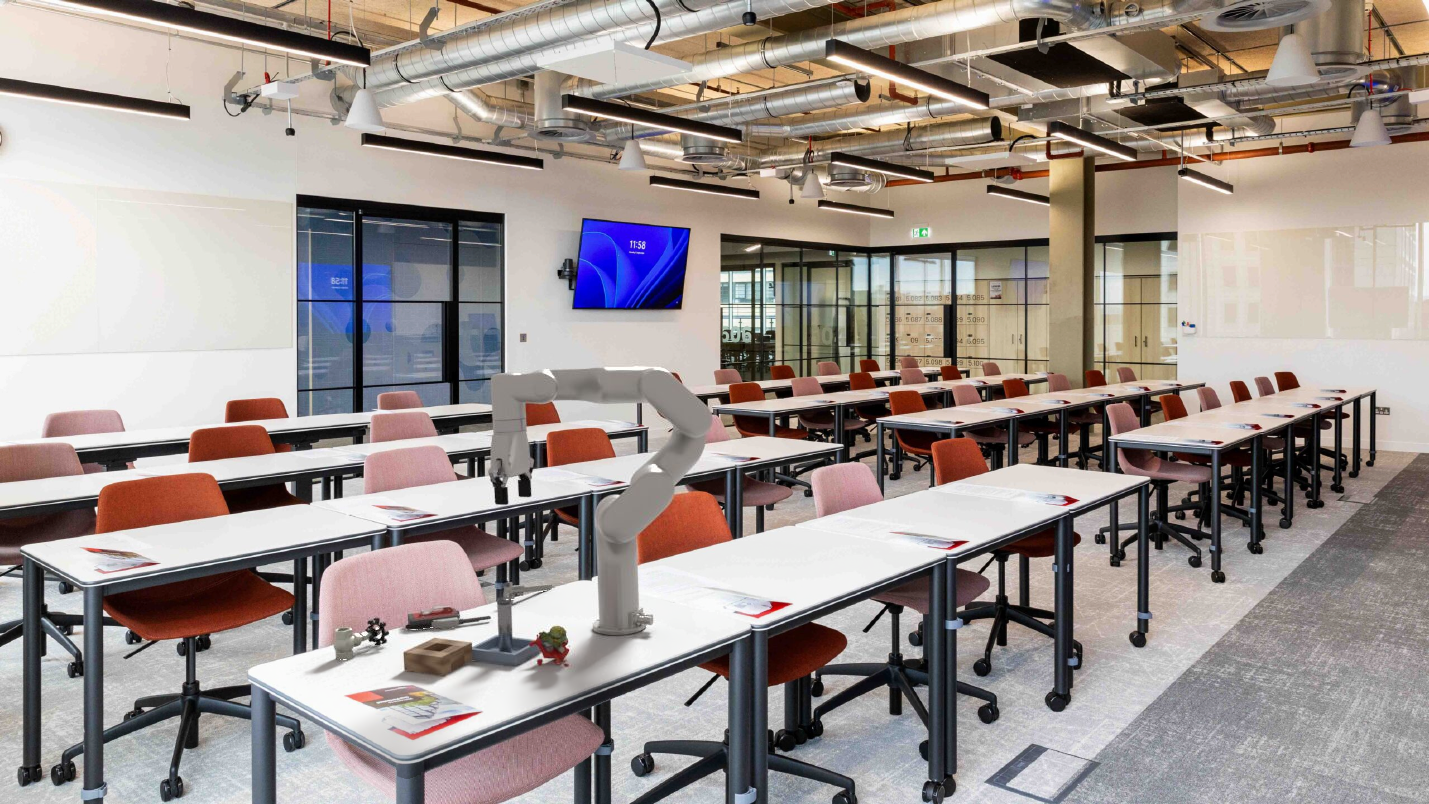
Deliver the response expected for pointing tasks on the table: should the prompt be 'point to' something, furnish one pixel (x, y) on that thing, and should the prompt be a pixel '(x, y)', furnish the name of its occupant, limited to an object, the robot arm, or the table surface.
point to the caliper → (523, 589)
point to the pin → (505, 624)
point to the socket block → (438, 656)
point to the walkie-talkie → (439, 618)
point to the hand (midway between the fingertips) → (513, 500)
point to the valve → (357, 638)
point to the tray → (491, 653)
